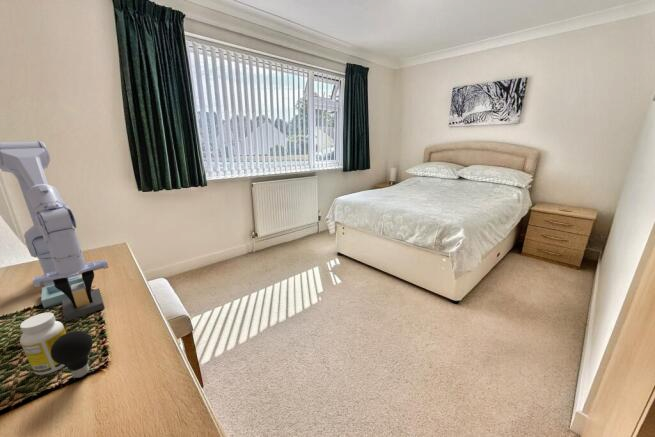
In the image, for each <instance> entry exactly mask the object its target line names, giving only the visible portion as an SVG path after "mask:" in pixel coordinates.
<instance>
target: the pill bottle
mask: <svg viewBox="0 0 655 437" xmlns="http://www.w3.org/2000/svg"><path fill="white" fill-rule="evenodd" d="M19 328H20V331H21V332H22V335H21V336H20V339H19V342H20V345H21V347H22V349H23V351H24V354H25V356H26V359H27V360H28V363H29V366H30V368H31V369H32V372H33V373H34V374H35V375H38V376H39V375H40V376H43V375H48V374H52V373H53V372H54V373H55V372H58V371H59V370H60V369H63V368H64V367H66V366H65V365H63V364H59V363H57V362H55V361H54V360H53V359H52V357H51V348H52V345H53V344H54V342H55V341H56V340H57V339H58V338H59V337H61V336H62V335H64V334H66V333H67V332H66V329H65V326H64V324H63V323H62V322H61V321H58V320H56V317H55V315H54V313H53V312H49V311H48V312H42V313H39V314H36V315H33V316H31V317H28V318H26V319H25V320H24V321H22V322H21V323H20V325H19Z"/></svg>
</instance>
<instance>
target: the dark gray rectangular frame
mask: <svg viewBox="0 0 655 437" xmlns="http://www.w3.org/2000/svg"><path fill="white" fill-rule="evenodd" d="M91 300H92V302H90V304H87V305H84V306H81V307H78V308H77V307H75V306H76V303H72V302H71V300H70V299H69V298H65V299H62V303H61V305H62V317H63V320H64V322H69V321H72V320H75V319H78V318H81V317H83V316H86V315H90V314H92V313H96V312H98V311H100V310H104V309H105V304H104V302H103V297H102V294H101V291H100V288H96V289H93V290H92V289H91V298H89V301H91Z"/></svg>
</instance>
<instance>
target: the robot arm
mask: <svg viewBox="0 0 655 437" xmlns="http://www.w3.org/2000/svg"><path fill="white" fill-rule="evenodd" d="M50 161H51V158H50V153H49V150H48V147H47V146H46V144H45V142H43V141H41V140H37V141H7V142H6V141H4V142H0V169H1V172H5V173H12V175H14V177H15V178H16V179H17V181H18V184H19V187H20V191H21V193H22V196H23V199H24V201H25V205H26V207H27V211H28V213H29V216H30V218H31V221H32V224H33V225H32V226H31V227H30V228H29V229H27V231H24V235H23V237H24V240H25V245H26V247H27V250H28V252H29V254H30V256H31V258H37V259H38V261H39V264H40V267H41V269H42V273H43V274H41V275H38V276H34V277H32V283H33V286H34V288H38V287H41V286H42V285H44V287H46V286H50V285H53V284H54V286H55V287H56V288H57V289H59V290H60V291H62V292H63V293H64V294H65V295H66V296H67V297H68V298H69V299H70V300H71V302H72V303H75V300H74V297H73V294H72V291H71V287H70V284H69V281H68V280H72V279H75V278H79V277H80V275H81V277H82V278H83V281H84V284H85V287H86V292H87V296H88V299H89V298H91V291H92V284H93V282H94V278H95V273H94V271H95V272H96V271H99V270H101V269H102V270H103V269H104V270H105V269H108V268H109V267H110V266H109V264H108V261H107V259H102V260H101V259H100V260H97V261H96V260H95V261H89V262H86V261H85V258H84V255H83V250H82V247H81V245H80V242H79V238H78V234H77V232H76V229H77V221H76V217H75V215H74V212H73V211H72V209H71V207H69V206H68V204H67V203H65V202H64V200H63V198H62V196H61V194H60V192H59V190H58V189H57V187H55V186H53V185H50V184H49V182H48V179H47V177H46V176H47V175H46V173H45V171H44V170H45V169H47V168H48V167H49V166H50Z"/></svg>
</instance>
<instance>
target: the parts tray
mask: <svg viewBox="0 0 655 437" xmlns="http://www.w3.org/2000/svg"><path fill="white" fill-rule="evenodd" d="M68 281H69V284H70V287H71V285H73V284H77V283H80V282H84V281H83V278H82V276H79V277H78V278H75V279H72V280H68ZM84 285H85V284H84ZM85 288H86V287H85ZM65 298H68V297H67V296H66V295H65V294H64V293H63V292H62V291H60V290H59V289H57V288H56V287H55V286H54V284H53V285H50V286H43V287H41V296H40V301H41V304H42V306H43V307H42V308H43V309H47V308H51V307H54V306H57V305H60V304H62V299H65Z"/></svg>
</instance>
